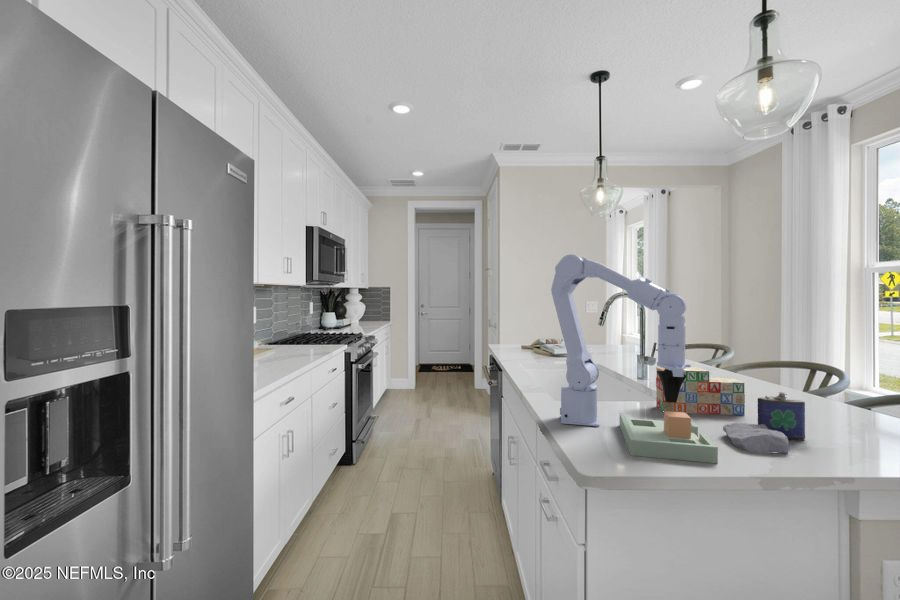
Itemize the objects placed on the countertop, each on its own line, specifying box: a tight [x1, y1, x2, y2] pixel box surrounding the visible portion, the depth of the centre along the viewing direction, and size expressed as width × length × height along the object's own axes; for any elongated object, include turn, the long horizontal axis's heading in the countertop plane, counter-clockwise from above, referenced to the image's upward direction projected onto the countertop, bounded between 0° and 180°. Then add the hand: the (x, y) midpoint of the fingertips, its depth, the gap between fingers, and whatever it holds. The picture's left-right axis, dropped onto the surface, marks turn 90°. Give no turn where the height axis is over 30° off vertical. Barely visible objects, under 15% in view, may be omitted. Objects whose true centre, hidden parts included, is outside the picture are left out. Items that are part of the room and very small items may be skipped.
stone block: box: [722, 422, 790, 454], centre depth 95 cm, size 12×5×10 cm
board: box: [619, 412, 719, 464], centre depth 96 cm, size 16×21×3 cm
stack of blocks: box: [655, 366, 746, 416], centre depth 122 cm, size 21×6×12 cm, turn 80°
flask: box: [757, 391, 806, 441], centre depth 99 cm, size 9×3×11 cm, turn 71°
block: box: [663, 411, 692, 439], centre depth 95 cm, size 4×4×4 cm
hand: (670, 401), depth 100 cm, fingers closed
